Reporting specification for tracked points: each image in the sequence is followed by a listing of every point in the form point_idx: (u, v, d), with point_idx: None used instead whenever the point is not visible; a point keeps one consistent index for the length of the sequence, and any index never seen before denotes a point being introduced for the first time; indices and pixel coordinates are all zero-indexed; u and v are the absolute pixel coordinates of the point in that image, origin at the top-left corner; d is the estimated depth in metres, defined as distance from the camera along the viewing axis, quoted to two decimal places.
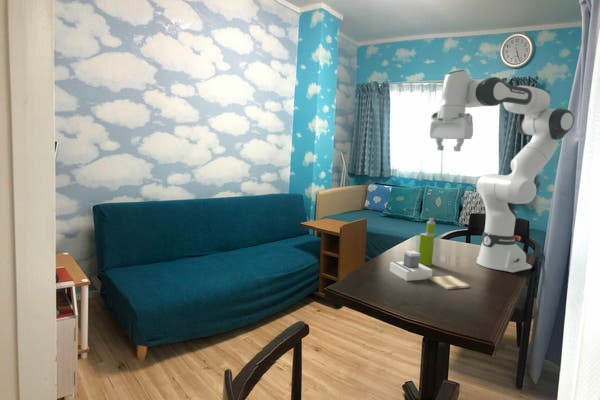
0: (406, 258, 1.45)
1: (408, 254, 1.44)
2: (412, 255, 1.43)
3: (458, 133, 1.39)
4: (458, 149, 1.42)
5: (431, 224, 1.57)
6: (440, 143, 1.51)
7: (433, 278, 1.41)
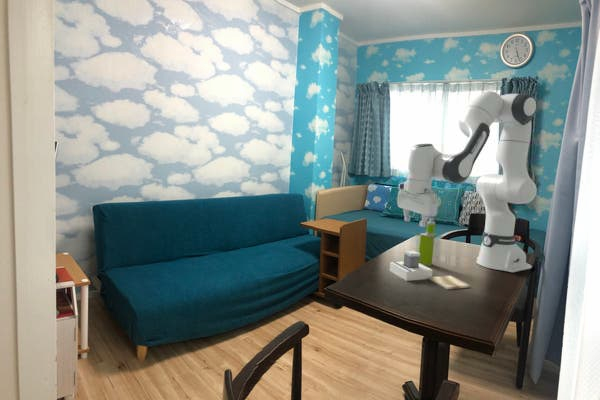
0: (406, 258, 1.45)
1: (408, 254, 1.44)
2: (412, 255, 1.43)
3: (422, 210, 1.36)
4: (423, 224, 1.38)
5: (431, 224, 1.57)
6: (407, 213, 1.48)
7: (433, 278, 1.41)
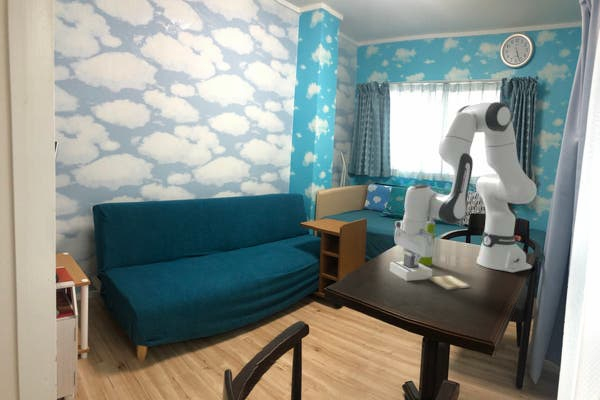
0: (406, 258, 1.45)
1: (408, 254, 1.44)
2: (412, 255, 1.43)
3: (419, 250, 1.38)
4: (416, 262, 1.43)
5: (431, 224, 1.57)
6: None
7: (433, 278, 1.41)
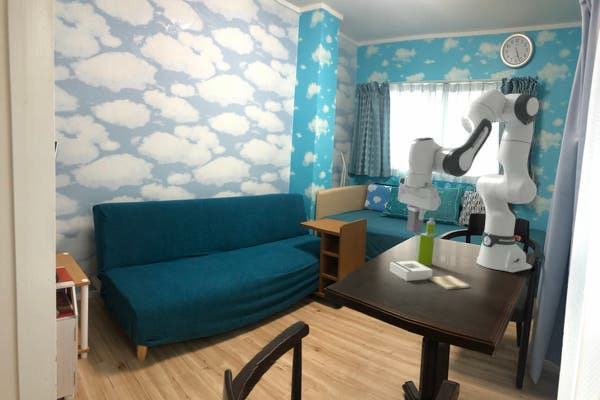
0: (410, 214, 1.43)
1: (412, 209, 1.41)
2: (416, 210, 1.40)
3: (423, 204, 1.36)
4: (421, 217, 1.40)
5: (431, 224, 1.57)
6: None
7: (433, 278, 1.41)
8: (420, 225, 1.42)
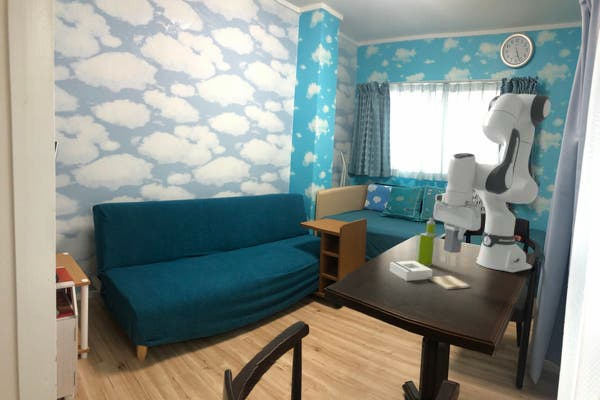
0: (448, 233, 1.36)
1: (451, 228, 1.35)
2: (455, 229, 1.34)
3: (464, 223, 1.29)
4: (460, 237, 1.33)
5: (431, 224, 1.57)
6: None
7: (433, 278, 1.41)
8: (458, 245, 1.35)
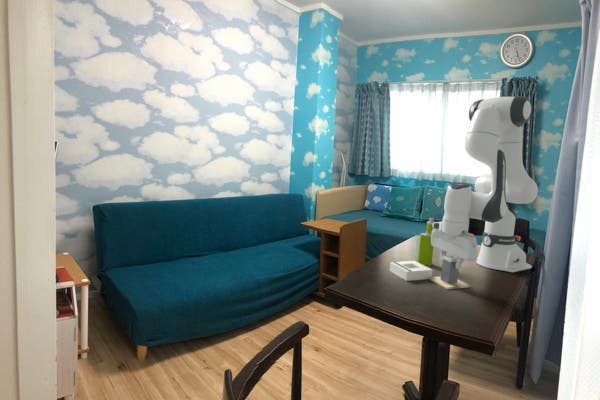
0: (445, 264, 1.38)
1: (447, 259, 1.37)
2: (452, 261, 1.35)
3: (461, 253, 1.31)
4: (459, 267, 1.34)
5: (431, 224, 1.57)
6: (444, 254, 1.42)
7: (433, 278, 1.41)
8: (455, 275, 1.37)
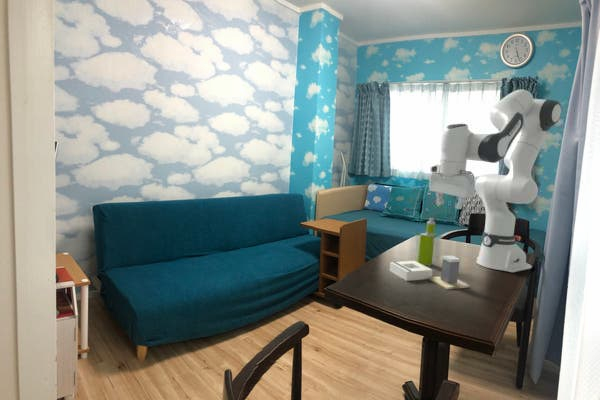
0: (445, 264, 1.38)
1: (447, 259, 1.37)
2: (452, 261, 1.35)
3: (459, 192, 1.33)
4: (459, 207, 1.35)
5: (431, 224, 1.57)
6: (440, 196, 1.45)
7: (433, 278, 1.41)
8: (455, 275, 1.37)
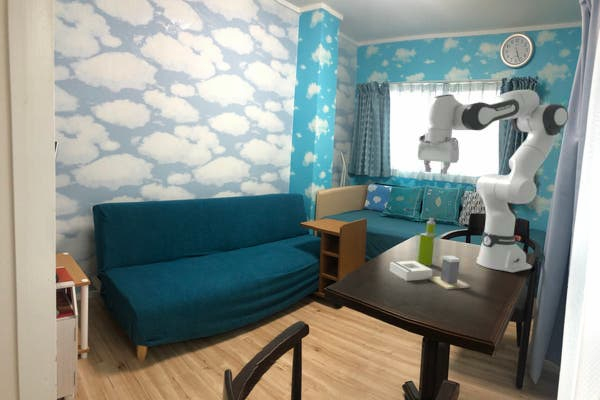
0: (445, 264, 1.38)
1: (447, 259, 1.37)
2: (452, 261, 1.35)
3: (444, 157, 1.41)
4: (445, 172, 1.44)
5: (431, 224, 1.57)
6: (428, 165, 1.54)
7: (433, 278, 1.41)
8: (455, 275, 1.37)
